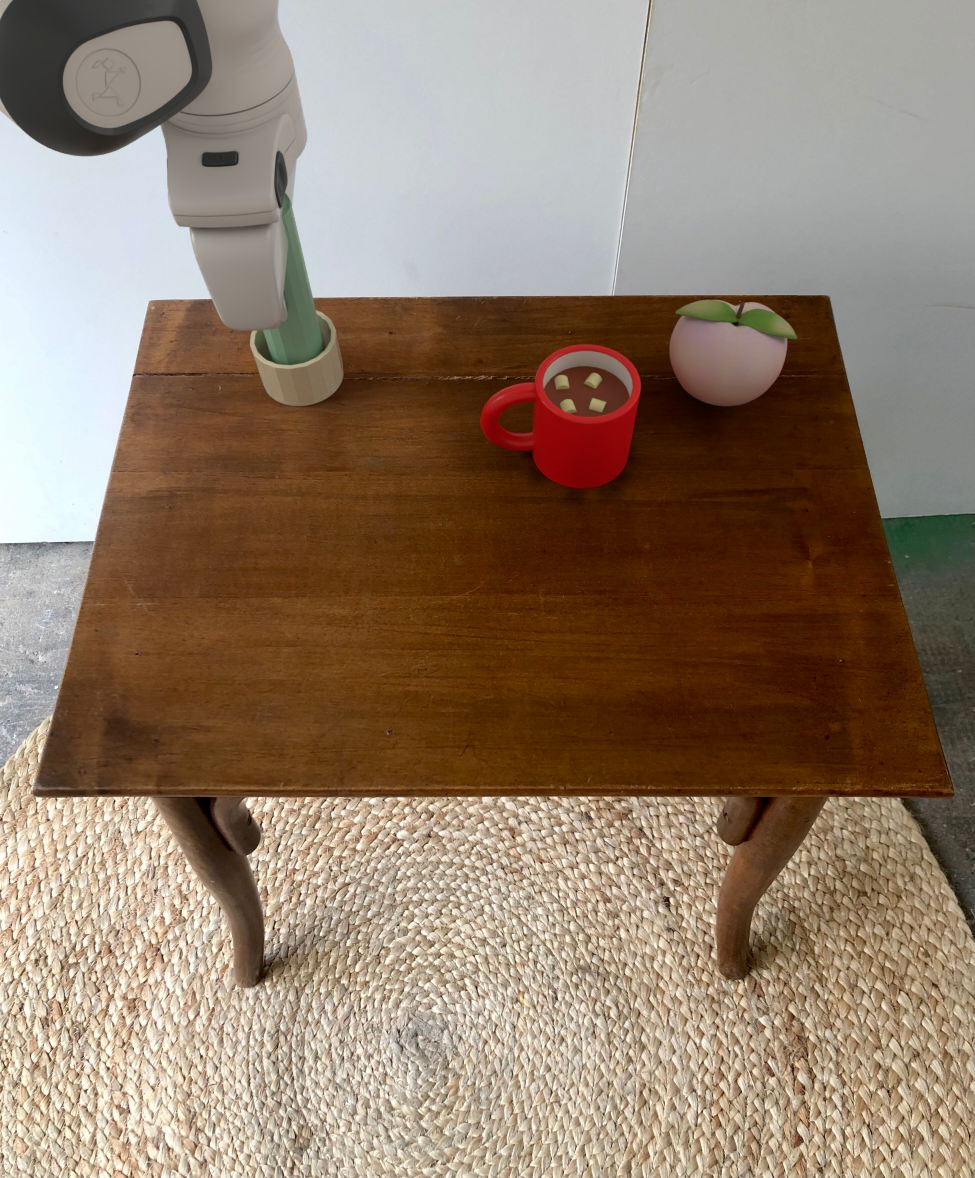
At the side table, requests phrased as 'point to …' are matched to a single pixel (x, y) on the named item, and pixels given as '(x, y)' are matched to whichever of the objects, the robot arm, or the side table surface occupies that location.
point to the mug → (573, 415)
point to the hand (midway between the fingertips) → (279, 289)
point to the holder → (301, 370)
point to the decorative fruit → (728, 350)
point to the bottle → (295, 306)
